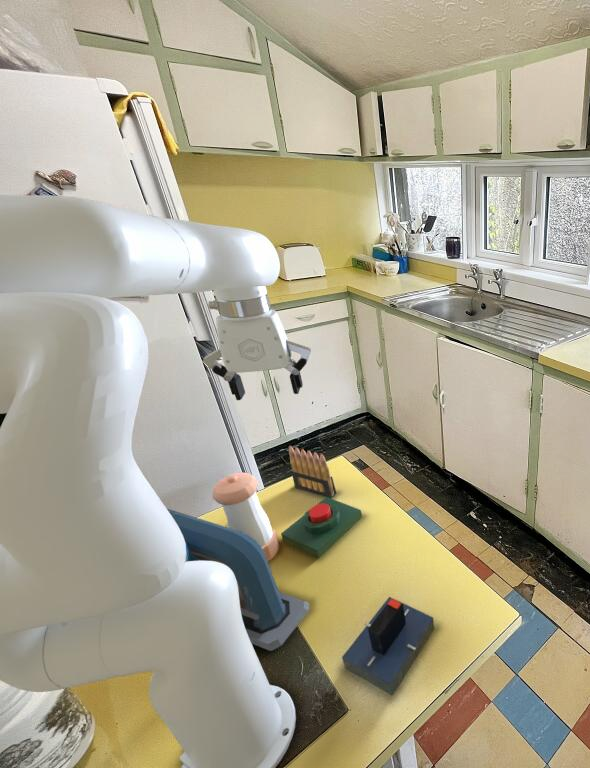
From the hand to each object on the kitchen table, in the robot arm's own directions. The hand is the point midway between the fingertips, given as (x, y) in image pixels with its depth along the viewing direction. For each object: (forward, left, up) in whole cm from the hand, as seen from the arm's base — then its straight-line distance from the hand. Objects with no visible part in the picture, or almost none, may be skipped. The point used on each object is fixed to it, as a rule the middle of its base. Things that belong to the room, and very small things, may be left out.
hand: (269, 393), depth 78 cm
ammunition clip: (+6, +3, -30) cm, 31 cm away
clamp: (-22, -3, -30) cm, 37 cm away
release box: (-2, -8, -30) cm, 31 cm away
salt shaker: (-12, -1, -30) cm, 32 cm away
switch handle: (-16, -37, -27) cm, 48 cm away
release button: (-2, -8, -27) cm, 28 cm away
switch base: (-16, -37, -30) cm, 50 cm away
